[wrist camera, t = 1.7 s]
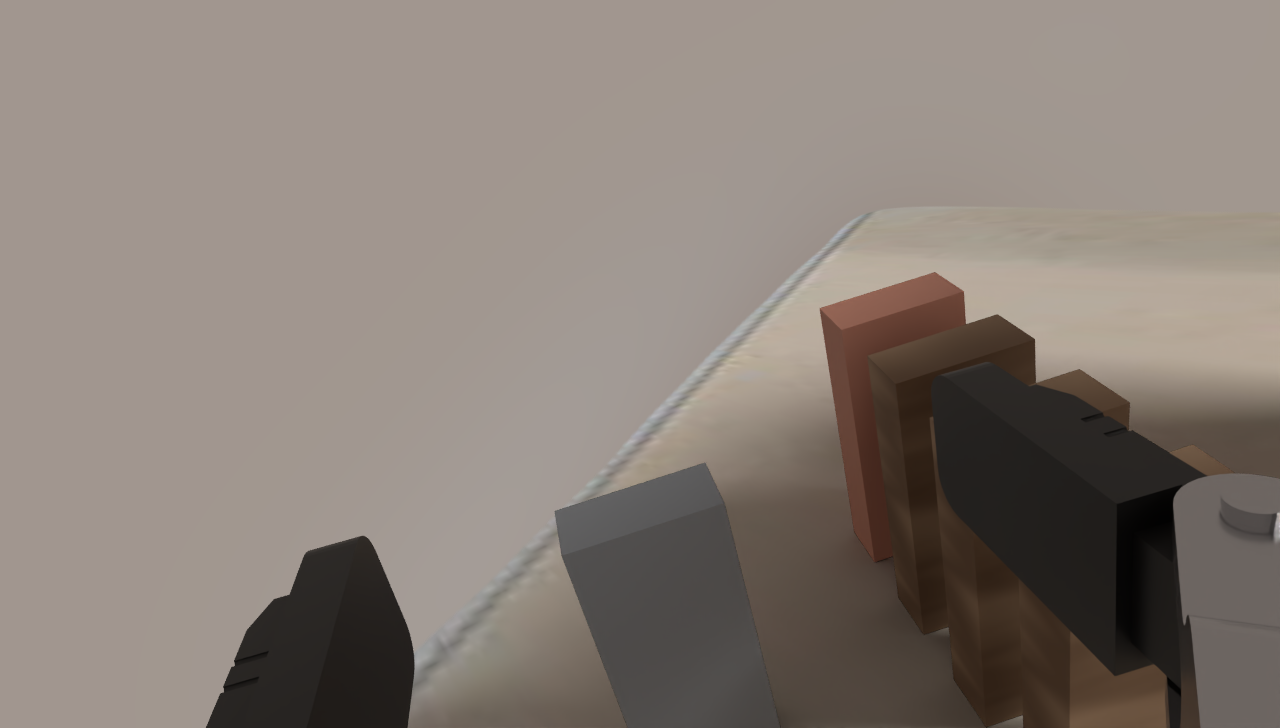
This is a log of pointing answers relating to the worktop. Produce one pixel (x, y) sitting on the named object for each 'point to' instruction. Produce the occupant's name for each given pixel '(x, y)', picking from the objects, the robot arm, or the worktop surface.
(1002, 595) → the domino
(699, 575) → the gray domino
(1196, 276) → the worktop surface
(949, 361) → the domino
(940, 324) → the domino
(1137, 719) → the domino
